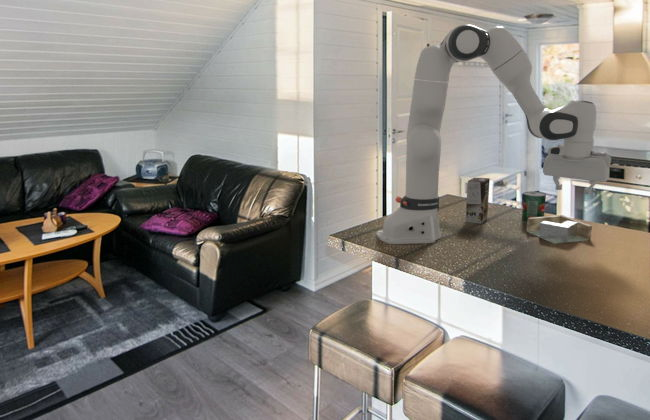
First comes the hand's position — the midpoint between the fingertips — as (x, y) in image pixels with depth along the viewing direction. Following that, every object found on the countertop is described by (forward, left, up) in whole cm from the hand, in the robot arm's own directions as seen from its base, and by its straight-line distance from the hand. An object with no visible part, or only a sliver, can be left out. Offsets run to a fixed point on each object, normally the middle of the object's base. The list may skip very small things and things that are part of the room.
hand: (572, 191), depth 172 cm
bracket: (-3, +1, -16) cm, 16 cm away
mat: (-2, +3, -16) cm, 17 cm away
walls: (-2, +3, -16) cm, 17 cm away
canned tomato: (+1, +22, -16) cm, 27 cm away
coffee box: (-18, +30, -16) cm, 38 cm away
